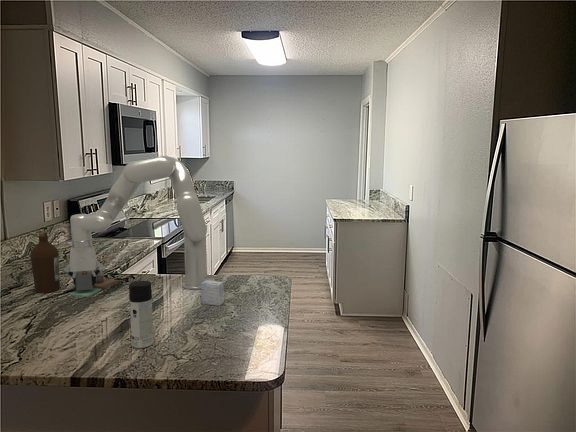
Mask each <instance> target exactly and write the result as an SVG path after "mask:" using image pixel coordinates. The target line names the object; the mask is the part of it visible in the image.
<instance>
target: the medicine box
mask: <svg viewBox="0 0 576 432" xmlns="http://www.w3.org/2000/svg"><path fill="white" fill-rule="evenodd" d="M200 290H201V291H200V295H201V304H202V305H210V306H216V307H217V306H218V307H219V306H222V304H224V303H225V295H224V294H225V293H224V290H225V289H224V281H217V280H215V281H209V280H206V281H204V282H202V283H201V289H200Z"/></svg>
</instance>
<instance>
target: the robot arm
mask: <svg viewBox="0 0 576 432" xmlns="http://www.w3.org/2000/svg"><path fill="white" fill-rule="evenodd" d="M164 178H168V179H169V180H170V182H171V185H172V186H171V187H172V189H173V192H174V195H175V200H176V211H177V214H178V216H179V221H180V223H181V227H182V231H183V243H184V244H183V245H184V272H185V273H184V274H185V275H184V276H185V279H184V281H182V283H181V287H182V288H184V289H188V290H201V283H202V282H204V281H206V280H209V281H216V278H214V277H210V274H208V267H207V266H208V264H207V263H208V261H207V260H208V258H207V255H208V253H207V252H208V251H207V233H208V228H207V224H206V221H205V216H204V213H203V209H202V206H201V203H200V199H199V197H198V195H197V192H196V190H195V185H194V183H193V180H192V176H191V175H190V172H189V169H188V168H187V167H186V166H185V164H184V163H183V162H181V160H179V159H177V158H175V157H172V156H169V155H161V156H158V157H153V158H149V159H145V160H139V161H131V162H129V163H127V164H126V165H125V166H124V168H123V171H122V172H121V174H120V175H119V176H118V179H117V180H116V181H115V182H114V183H113V185H112V186H111V188H110V190H109V192H108V196H107V198H106V199H105V201H104V202H103V204H102V205H101V206H100V207H99V209H98V210H97V212H96V213H95V214H94V215H90V214H87V213H78V214H73V215H71V216H70V231H71V241H68V242H67V244H68V246H70V250H69V263H68V264H67V265H66V266H65V267H64V269H63V272H65V273H66V274H68V275H69V276H70V277H72V280H73V281H72V282H73V285H74V287H75V288H76V277H75V276H76V274H77V272H85V271H91V273H92V285H93V286H94V285H95V283H96V275H97V274H98V273H99V272H100V271H101V270H102V269H103V270H104V267H105V266H104V265H103V264H102V263H100V261H98V260H97V252H96V249H95V245H93V236H92V233H98V234H100V233H103V232H105V231H107V230H108V229H109V228H110V227H111V225H112V224H113V223H114V222H115V219H117V217H118V215H119V214H120V212H121V211H122V209H123V208H124V207H125V206H126V205H127V204H128V203H129V201H131V198H132V197H133V196H134V194H135V192H137V190H138V188H139V187H140V186H141V184H142V183H145V182H150V181H155V180H160V179H164ZM96 267H99V268H98V269H97V270H96Z"/></svg>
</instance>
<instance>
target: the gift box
mask: <svg viewBox="0 0 576 432" xmlns="http://www.w3.org/2000/svg"><path fill="white" fill-rule="evenodd" d="M75 277H76V287H75V289H76V290H87V289H92V288H93V285H92V273H91V271H85V272H77V274H76V276H75ZM76 290H75V291H76Z"/></svg>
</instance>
